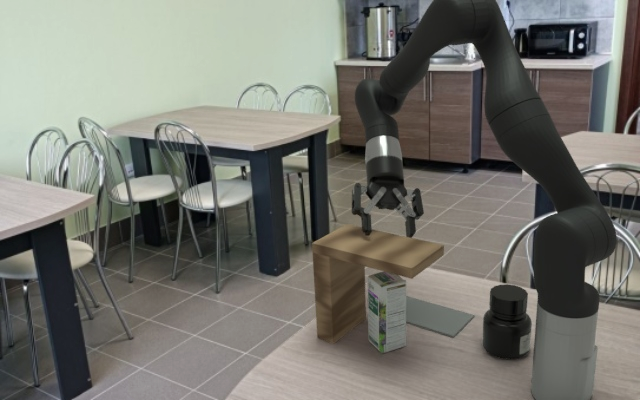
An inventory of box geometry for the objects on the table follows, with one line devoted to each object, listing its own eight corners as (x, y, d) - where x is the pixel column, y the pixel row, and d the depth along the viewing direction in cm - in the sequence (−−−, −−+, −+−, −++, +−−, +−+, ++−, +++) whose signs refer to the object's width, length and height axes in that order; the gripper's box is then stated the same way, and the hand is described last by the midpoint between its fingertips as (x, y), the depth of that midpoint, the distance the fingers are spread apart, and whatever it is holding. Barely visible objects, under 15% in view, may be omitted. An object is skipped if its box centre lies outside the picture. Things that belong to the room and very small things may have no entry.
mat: (474, 316, 132) (474, 315, 132) (453, 337, 125) (453, 335, 125) (393, 293, 144) (393, 292, 144) (369, 311, 136) (369, 309, 136)
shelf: (442, 343, 123) (443, 245, 116) (412, 372, 114) (412, 268, 107) (350, 313, 136) (347, 223, 129) (317, 338, 127) (312, 243, 120)
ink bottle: (535, 362, 115) (539, 305, 111) (486, 362, 116) (488, 304, 112) (523, 335, 124) (527, 280, 121) (478, 334, 125) (480, 280, 122)
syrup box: (367, 340, 125) (365, 275, 121) (392, 333, 127) (391, 268, 123) (381, 354, 120) (380, 286, 116) (407, 346, 123) (407, 279, 118)
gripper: (355, 150, 123) (359, 225, 116) (423, 157, 126) (431, 230, 119) (346, 168, 130) (349, 240, 123) (410, 174, 133) (417, 245, 126)
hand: (389, 235), depth 121 cm, fingers open, 8 cm apart
